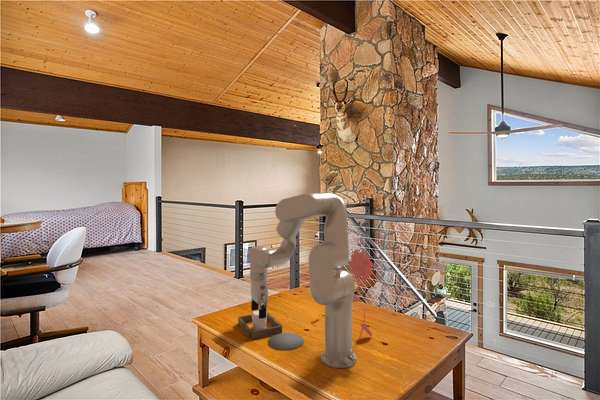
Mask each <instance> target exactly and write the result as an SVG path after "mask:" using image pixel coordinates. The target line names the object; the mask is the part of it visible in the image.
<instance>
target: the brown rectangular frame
mask: <svg viewBox="0 0 600 400" xmlns="http://www.w3.org/2000/svg"><path fill="white" fill-rule="evenodd" d="M237 321H238V322H237V325H238V327H240V329H241V330H242V331H243V332H244V334H245V335H246V336H247V337H248V339H249V340H251V341H252V340H256V339H261V338H266V337H272V336H274V335H276V334H280V333H283V324H282V323H280V321H278V319H276V318H275V317H274V316H273V315H272V314H271V313H269V312H267V322H268V323H269V324H270V325H271V326H270V327H266V328H265V329H260V330H252V329H251V328H250V327H249V325H248V324H249V323H253V322H252V314H247V315H243V316H242V315H241V316H238V318H237Z"/></svg>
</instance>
